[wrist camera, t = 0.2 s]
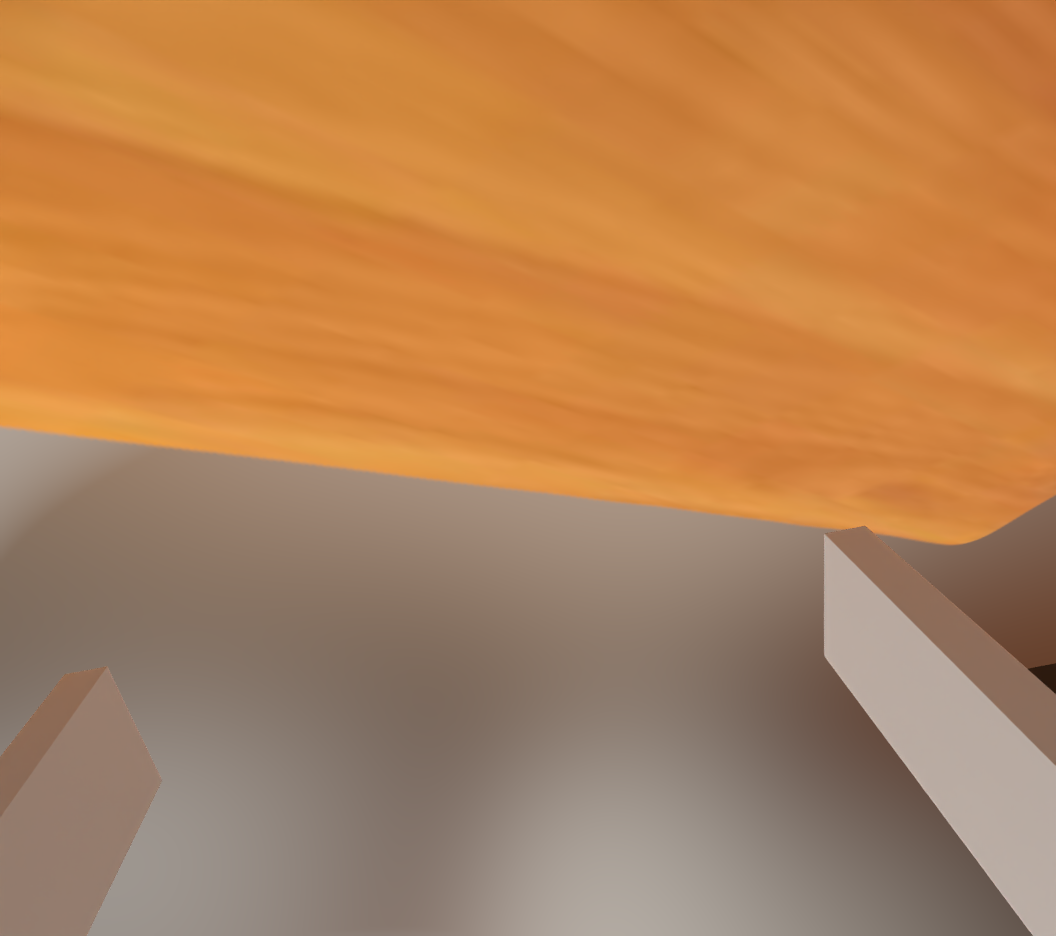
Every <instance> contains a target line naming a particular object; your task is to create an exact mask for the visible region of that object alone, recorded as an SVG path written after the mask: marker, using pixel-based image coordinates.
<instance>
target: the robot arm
mask: <svg viewBox="0 0 1056 936" xmlns="http://www.w3.org/2000/svg"><path fill="white" fill-rule="evenodd" d="M824 656H825V657H826V659H827V660H828V661H829V663H830V664H831V665H832V667H833V668H834V670H835V671H836V672H837V674H838V675H839V676H840V678H841V679H842V680H843V682H844V683H845V684H846V686H847V687H848V688H849V690H850V691H851V692H852V694H853V695H854V696H855V698H856V699H857V700H858V702H859V703H860V704H861V705H862V707H863V708H864V710H865V711H866V712H867V714H868V715H869V716H870V718H871V719H872V721H873V722H874V723H875V725H876V726H877V727H878V728H879V730H880V731H881V733H882V734H883V735H884V737H885V738H886V739H887V741H888V742H889V743H890V745H891V746H892V747H893V749H894V750H895V751H896V753H897V754H898V755H899V757H900V758H901V759H902V761H903V762H904V763H905V765H906V766H907V767H908V769H909V770H910V771H911V773H912V774H913V775H914V777H915V778H916V780H917V781H918V782H919V784H920V785H921V786H922V787H923V789H924V790H925V792H926V793H927V794H928V796H929V797H930V798H931V799H932V801H933V802H934V804H935V805H936V806H937V807H938V809H939V810H940V811H941V813H942V814H943V816H944V817H945V818H946V820H947V821H948V822H949V824H950V825H951V826H952V828H953V829H954V830H955V832H956V833H957V834H958V835H959V837H960V838H961V840H962V841H963V842H964V844H965V845H966V846H967V848H968V849H969V851H970V852H971V853H972V854H973V856H974V857H975V859H976V860H977V861H978V862H979V864H980V865H981V867H982V868H983V869H984V870H985V872H986V873H987V875H988V876H989V877H990V879H991V880H992V881H993V883H994V884H995V885H996V887H997V888H998V889H999V891H1000V892H1001V893H1002V895H1003V896H1004V897H1005V899H1006V900H1007V901H1008V903H1009V904H1010V905H1011V907H1012V908H1013V910H1014V911H1015V912H1016V913H1017V915H1018V916H1019V918H1020V919H1021V920H1022V921H1023V923H1024V924H1025V925H1026V927H1027V928H1028V930H1029V931H1030V932H1031V933H1032V935H1033V936H1056V664H1050V665H1045V666H1040V667H1035V668H1030V669H1027V668H1025V667H1024V666H1023V665H1022V664H1021V663H1020V662H1019V661H1018V660H1017V659H1015V658H1014V657H1013V656H1012V655H1011V654H1009V653H1008V652H1007V651H1006V650H1005V649H1004V648H1003V647H1002V646H1001V645H1000V644H998V643H997V642H996V641H995V640H994V639H993V638H991V637H990V636H989V635H988V634H987V633H986V632H985V631H984V630H983V629H981V628H980V627H979V626H978V625H977V624H976V623H975V622H973V621H972V620H971V619H970V618H969V617H968V616H967V615H966V614H964V613H963V612H962V611H961V610H960V609H959V608H957V607H956V606H955V605H954V604H953V603H952V602H951V601H950V600H949V599H947V598H946V597H945V596H944V595H943V594H942V593H941V592H940V591H938V590H937V589H936V588H935V587H934V586H932V584H930V583H929V582H928V581H927V580H926V579H925V578H924V577H923V576H921V575H920V574H919V573H918V572H917V571H916V570H915V569H913V568H912V567H911V566H910V565H909V564H908V563H907V562H906V561H904V560H903V559H902V558H901V557H900V556H899V555H898V554H896V553H895V552H894V551H893V550H892V549H891V548H890V547H889V546H887V545H886V544H885V543H884V542H883V541H882V540H881V539H879V538H878V537H877V536H876V535H875V534H874V533H873V532H872V531H870V530H869V529H868V528H867V527H866V526H862V527H857V528H852V529H846V530H841V531H835V532H830V533H825V534H824ZM161 782H162V779H161V777H160V775H159V773H158V771H157V769H156V767H155V764H154V763H153V760H152V758H151V756H150V754H149V752H148V750H147V748H146V746H145V744H144V742H143V740H142V738H141V736H140V733H139V731H138V729H137V727H136V725H135V723H134V721H133V719H132V717H131V715H130V713H129V710H128V709H127V706H126V704H125V702H124V700H123V698H122V696H121V694H120V692H119V690H118V688H117V686H116V683H115V681H114V679H113V677H112V675H111V673H110V671H109V669H108V667H102V668H97V669H91V670H86V671H81V672H75V673H70V674H65V675H64V676H63V677H62V679H61V680H60V681H59V682H58V684H57V685H56V686H55V687H54V689H53V690H52V691H51V693H50V694H49V695H48V696H47V698H46V699H45V700H44V702H43V703H42V704H41V705H40V707H39V708H38V709H37V711H36V712H35V713H34V714H33V716H32V717H31V718H30V720H29V721H28V722H27V723H26V725H25V726H24V727H23V729H22V730H21V731H20V732H19V734H18V735H17V736H16V737H15V739H14V740H13V741H12V742H11V744H10V745H9V746H8V748H7V749H6V750H5V751H4V753H3V754H2V755H1V757H0V936H86V935H87V934H88V932H89V930H90V928H91V925H92V923H93V921H94V919H95V917H96V915H97V913H98V911H99V909H100V907H101V905H102V903H103V901H104V899H105V897H106V895H107V892H108V890H109V888H110V886H111V884H112V882H113V880H114V878H115V876H116V874H117V872H118V870H119V868H120V866H121V864H122V862H123V860H124V857H125V856H126V853H127V852H128V850H129V848H130V845H131V843H132V841H133V839H134V837H135V835H136V833H137V831H138V829H139V827H140V825H141V823H142V821H143V819H144V817H145V815H146V813H147V811H148V808H149V806H150V804H151V802H152V800H153V798H154V796H155V794H156V792H157V790H158V788H159V786H160V784H161Z"/></svg>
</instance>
